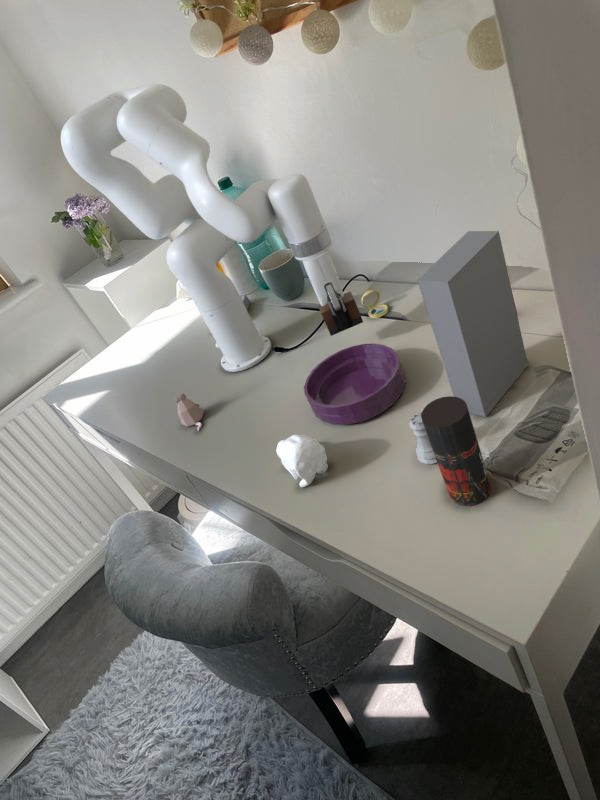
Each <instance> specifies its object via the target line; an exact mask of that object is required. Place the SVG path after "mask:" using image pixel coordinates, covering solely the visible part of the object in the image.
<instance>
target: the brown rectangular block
mask: <svg viewBox="0 0 600 800" xmlns="http://www.w3.org/2000/svg"><path fill="white" fill-rule="evenodd" d="M343 294H344V296H343V298H342V297H341V298H342V301H343V303H344V306H345V308H347V310H348V312H349V315H350V317H351V320H352V322H353V324H354V326H353V327H355V326H359V325H360V324H363V323H364V320H363V318H362V316H361V315H362V314H361V313H360V310H359V308H358V305H357V303H356V300H355V297H354V295H353V294H352V291H348V292H345V293H343ZM338 302H339V303H340V301H338ZM340 304H341V303H340ZM317 306H318V308H319V311H320V314H321V317H322V319H323V321H324V323H325V326H326V328H327V331H328V332H329V335H330V336H331V337H333V336H334V335H337V334H339V333H340V332H339V331H338V328H337V326H336V324H335V321H334V319H333V317H332V311H331V309H330V307H329V304H328V302H327V304H326V305H324V306H321V305H320V304H318V305H317ZM332 306H333V304H332ZM342 309H343V308H342Z"/></svg>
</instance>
